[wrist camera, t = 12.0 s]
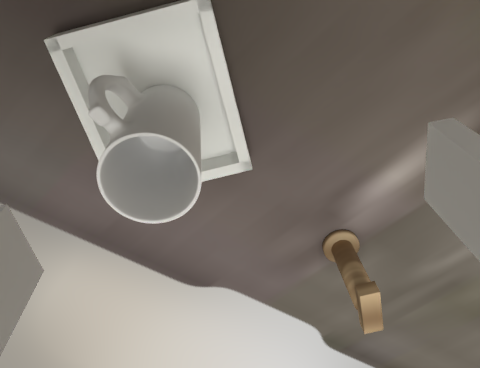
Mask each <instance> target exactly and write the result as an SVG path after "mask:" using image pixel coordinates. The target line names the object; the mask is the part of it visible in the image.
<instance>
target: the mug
mask: <svg viewBox="0 0 480 368" xmlns="http://www.w3.org/2000/svg"><path fill="white" fill-rule="evenodd" d="M105 90H109V91H111V92H113V93H115V94H116V95H117V96H119V97H120V98H121V99H122V100H123V102H124V103H125V104H126V105H127V107H128V112H127V114H126V115H125V117H124V119H122V118H120V117H119V116H118V115H117V114H116V113H115V112H114V110H113V109H112V108H111V106H110V105H109V103H108V101H107V99H106V95H105ZM88 96H89V106H90V110H89V113H88V115H89V116H90V117H91V118H92V119H93V120H94V121H95V122H96V123H97V124H98V125H100V126H103V127H104V128H105V129H106V130H107V131H108V133H109V134H110V142H109V144H108V145H107V147H106V149H105V151H104V152H103V154H102V155H101V157H100V160H99V162H98V166H97V183H98V187H99V190H100V192H101V194H102V196H103V197H104V199H105V200H106V202H107V203H108V204H109V205H110V206H111V207H112V208H113V209H114V210H115V211H117V212H118V213H120V214H121V215H123V216H125V217H127V218H129V219H131V220H134V221H138V222H142V223H164V222H168V221H172V220H174V219H177V218H179V217H181V216H182V215H184V214H185V213H186V212H188V211H189V210H190V209H191V208H192V206H193V205H194V204H195V202H196V200H197V198H198V196H199V193H200V190H201V128H200V113H199V110H198V107H197V105H196V103H195V101H194V100H193V99H192V98H191V96H189V95H188V94H187V93H186V92H185V91H183V90H181V89H179V88H177V87H174V86H170V85H157V86H153V87H150V88H148V89H146V90H144V91H143V92H142V93H140V92H139V91H138V90H137V89H136V88H135V87H134V86H133V85H132V84H131V83H130V81H129V80H128V79H127V78H125V77H123V76H114V75H101V76H98V77H96V78H95V79H93V80H92V82H91V83H90V85H89V92H88Z"/></svg>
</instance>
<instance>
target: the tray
mask: <svg viewBox="0 0 480 368" xmlns="http://www.w3.org/2000/svg"><path fill="white" fill-rule="evenodd" d="M44 42H45V44H46V47H47V49H48V51H49V53H50V55H51V57H52V60H53V62H54V64H55V66H56V68H57V71H58V73H59V75H60V77H61V79H62V82H63V84H64V86H65V88H66V90H67V92H68V95H69V97H70V99H71V101H72V103H73V106H74V108H75V110H76V112H77V114H78V117H79V119H80V121H81V123H82V125H83V127H84V130H85V132H86V134H87V136H88V138H89V141H90V143H91V145H92V147H93V149H94V151H95V154H96V156H97V158H98V160H100V157H101V155H102V154H103V152H104V151H105V149H106V147H107V145H108V144H109V142H110V134H109V133H108V131H107V130H106V129H105V128H104V127H103V126H100V125H98V124H97V123H96V122H95V121H94V120H93V119H92V118H91V117H90V116H89V115H88V113H89V110H90V106H89V96H88V92H89V85H90V83H91V82H92V80H93V79H95V78H96V77H98V76H101V75H114V76H123V77H125V78H127V79H128V80H129V81H130V83H131V84H132V85H133V86H134V87H135V88H136V89H137V90H138V91H139V92H140V93H142V92H143V91H144V90H146V89H148V88H150V87H153V86H157V85H170V86H174V87H177V88H179V89H181V90H183V91H185V92H186V93H187V94H188V95H189V96H191V98H192V99H193V100H194V101H195V103H196V105H197V107H198V110H199V113H200V128H201V182H203V181H207V180H211V179H215V178H219V177H223V176H228V175H232V174H236V173H240V172H244V171H248V170H252V165H251V160H250V155H249V151H248V147H247V143H246V139H245V135H244V131H243V127H242V123H241V119H240V115H239V111H238V107H237V103H236V99H235V95H234V91H233V87H232V83H231V79H230V75H229V71H228V67H227V63H226V59H225V55H224V51H223V47H222V43H221V39H220V35H219V31H218V27H217V23H216V19H215V15H214V11H213V7H212V3H211V0H180V1H176V2H172V3H168V4H165V5H161V6H157V7H153V8H150V9H146V10H142V11H139V12H135V13H131V14H127V15H124V16H120V17H116V18H113V19H109V20H105V21H101V22H98V23H94V24H90V25H87V26H83V27H79V28H75V29H72V30H68V31H64V32H61V33H57V34H55V35H53V36H51V37H49V38H47V39H45V40H44ZM105 95H106V99H107V101H108V103H109V105H110V106H111V108H112V109H113V110H114V112H115V113H116V114H117V115H118V116H119V117H120V118H122V119H124V117H125V115H126V114H127V112H128V107H127V105H126V104H125V103H124V102H123V100H122V99H121V98H120V97H119V96H117V95H116V94H115V93H113V92H111V91H109V90H105Z"/></svg>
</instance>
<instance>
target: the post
mask: <svg viewBox="0 0 480 368" xmlns="http://www.w3.org/2000/svg"><path fill="white" fill-rule="evenodd" d="M359 246H360V245H359V241H358V239H357V237H356V236H355V234H354V233H353V232H351V231H348V230H337V231H334V232H332V233H330V234H329V235H328V236H327V237H326V238H325V239H324V241H323V245H322V248H323V251H324V254H325V256H326V257H327V258H328V259H329V260H330V261H333V262H336V264H337V266H338V268H339V271H340V273H341V275H342V278H343V280H344V283H345V285H346V287H347V290H348V292H349V294H350V297H351V299H352V302H353V304H354V306H355V308H356V309H357V310H358V313H359V321H360V324H361V327H362V329H363V331H364V334H367V333H372V332H376V331H381V330H383V320H382V309H381V298H380V291H379V289H378V287H377V285H376V283H375V281H372V282H371V281H370V279H369V277H368V275H367V273H366V271H365V269H364V267H363V265H362V263H361V261H360V259H359V257H358V255H357V252H358V251H359Z"/></svg>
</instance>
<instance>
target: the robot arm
mask: <svg viewBox="0 0 480 368" xmlns="http://www.w3.org/2000/svg"><path fill="white" fill-rule="evenodd" d="M424 199H425V201H426V202H427V203H428V204H429V205H430V206H431V207H432V208H433V210H434V211H435V212H436V213H437V214H438V215H439V216H440V217H441V219H442V220H443V221H444V222H445V223H446V224H447V225H448V226H449V228H450V229H451V230H452V231H453V232H454V233H455V234H456V235H457V237H458V238H459V239H460V240H461V241H462V242H463V243H464V244H465V246H466V247H467V248H468V249H469V250H470V251H471V252H472V253H473V255H474V256H475V257H476V258H477V259H478V260H479V261H480V135H479V134H477V133H476V132H474V131H473V130H471V129H470V128H468V127H467V126H465V125H464V124H462V123H461V122H459V121H458V120H456V119H455V118H449V119H444V120H439V121H434V122H429V123H428V134H427V152H426V170H425V188H424ZM43 271H44V270H43V269H42V266H41V265H40V263H39V261H38V259H37V257H36V256H35V254H34V252H33V250H32V248H31V247H30V245H29V243H28V241H27V239H26V238H25V236H24V234H23V232H22V230H21V229H20V227H19V225H18V223H17V222H16V220H15V218H14V216H13V214H12V212H11V210H10V209H9V207H8V205H7V204H6V205H1V206H0V356H1V354H2V352H3V350H4V348H5V346H6V344H7V342H8V340H9V338H10V336H11V334H12V332H13V330H14V328H15V326H16V324H17V322H18V320H19V318H20V316H21V314H22V312H23V310H24V309H25V306H26V305H27V303H28V301H29V299H30V297H31V295H32V293H33V291H34V289H35V287H36V285H37V283H38V281H39V279H40V277H41V275H42V273H43Z"/></svg>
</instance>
